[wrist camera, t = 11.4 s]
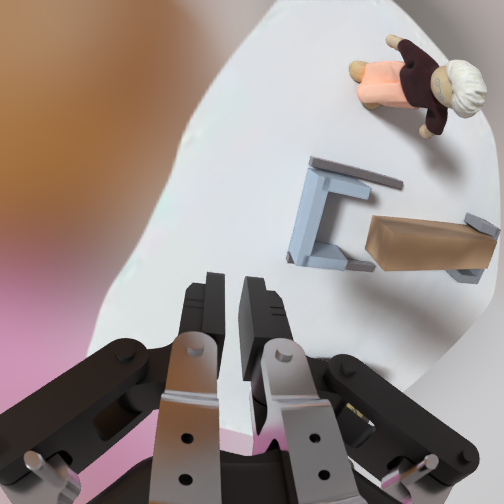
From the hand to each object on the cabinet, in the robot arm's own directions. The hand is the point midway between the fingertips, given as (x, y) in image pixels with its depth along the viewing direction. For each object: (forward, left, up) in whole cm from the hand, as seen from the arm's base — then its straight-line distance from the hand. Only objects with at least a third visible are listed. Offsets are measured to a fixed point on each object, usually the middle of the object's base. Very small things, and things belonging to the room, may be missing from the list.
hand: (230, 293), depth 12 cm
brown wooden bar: (0, -22, -13) cm, 25 cm away
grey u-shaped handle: (0, -28, -13) cm, 31 cm away
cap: (0, -8, -13) cm, 16 cm away
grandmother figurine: (+12, -10, -13) cm, 20 cm away
